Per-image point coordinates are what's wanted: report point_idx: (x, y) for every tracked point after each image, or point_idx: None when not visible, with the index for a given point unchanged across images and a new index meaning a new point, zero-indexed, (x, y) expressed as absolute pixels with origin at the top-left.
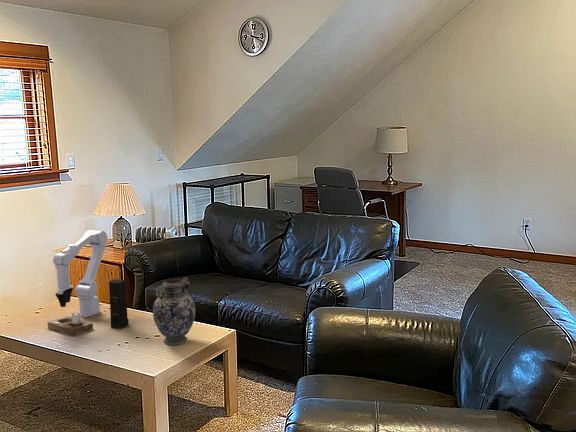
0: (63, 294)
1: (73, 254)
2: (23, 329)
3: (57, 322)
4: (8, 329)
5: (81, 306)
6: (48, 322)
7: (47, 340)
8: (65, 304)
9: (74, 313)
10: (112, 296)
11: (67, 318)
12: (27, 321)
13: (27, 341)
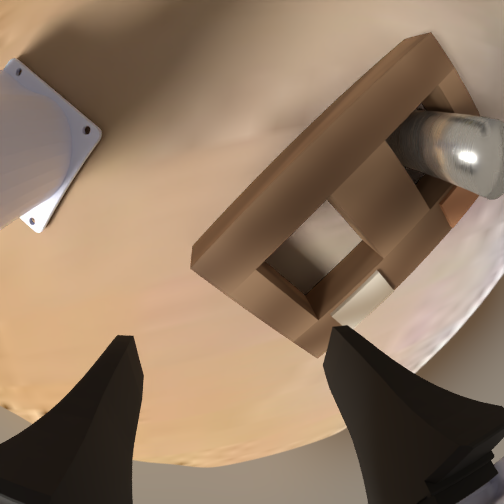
0: (493, 447)
1: None
2: (290, 414)
3: (366, 294)
4: (273, 448)
5: (25, 196)
6: (326, 350)
7: (476, 266)
8: (366, 341)
9: (479, 176)
10: None
11: (268, 251)
12: (172, 432)
13: (447, 338)
